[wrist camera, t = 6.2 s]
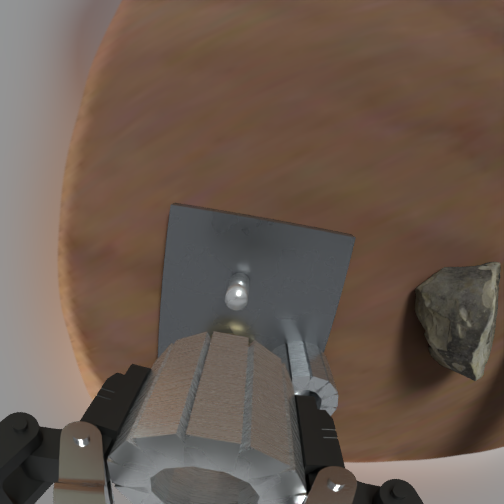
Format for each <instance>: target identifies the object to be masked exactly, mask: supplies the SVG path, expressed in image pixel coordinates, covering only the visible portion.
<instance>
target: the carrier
mask: <svg viewBox="0 0 504 504" xmlns="http://www.w3.org/2000/svg"><path fill="white" fill-rule="evenodd" d="M354 242H355V237H354V236H353V235H351V234H347V233H342V232H337V231H332V230H327V229H322V228H317V227H311V226H306V225H301V224H295V223H290V222H285V221H279V220H274V219H268V218H263V217H257V216H251V215H245V214H240V213H234V212H228V211H222V210H216V209H210V208H204V207H198V206H191V205H185V204H179V203H173V204H171V207H170V214H169V223H168V231H167V240H166V249H165V259H164V270H163V281H162V294H161V308H160V324H159V343H158V358H159V357H160V356H161V354H162V353H163V352H164V351H165V350H166V349H167V348H168V346H169V345H170V344H171V343H173V344H175V342H176V340H178V339H182V338H185V337H189V336H193V335H196V334H200V333H203V332H208V334H209V336H210V338H211V339H212V335H213V331H216V332H221V333H227V334H232V335H238V336H244V337H249V341H248V346H249V345H250V344H251V343H252V342H253V341H254V340H256V341H257V342H258V343H260V344H261V345H263V346H264V347H265V348H267V349H268V350H269V351H271V352H272V350H273V349H275V348H277V347H278V346H280V345H282V344H283V343H285V344H286V345H287V342H293V341H302V342H303V343H304V342H305V341H306V342H309V343H311V344H314V345H316V346H318V348H319V347H320V349H321V350H322V352H323V353H324V350H325V346H326V343H327V340H328V337H329V334H330V330H331V327H332V324H333V320H334V317H335V314H336V310H337V307H338V303H339V300H340V296H341V292H342V289H343V285H344V281H345V278H346V274H347V270H348V266H349V262H350V258H351V254H352V250H353V246H354ZM294 394H295V395H305V396H308V394H309V390H297V391H294Z"/></svg>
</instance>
